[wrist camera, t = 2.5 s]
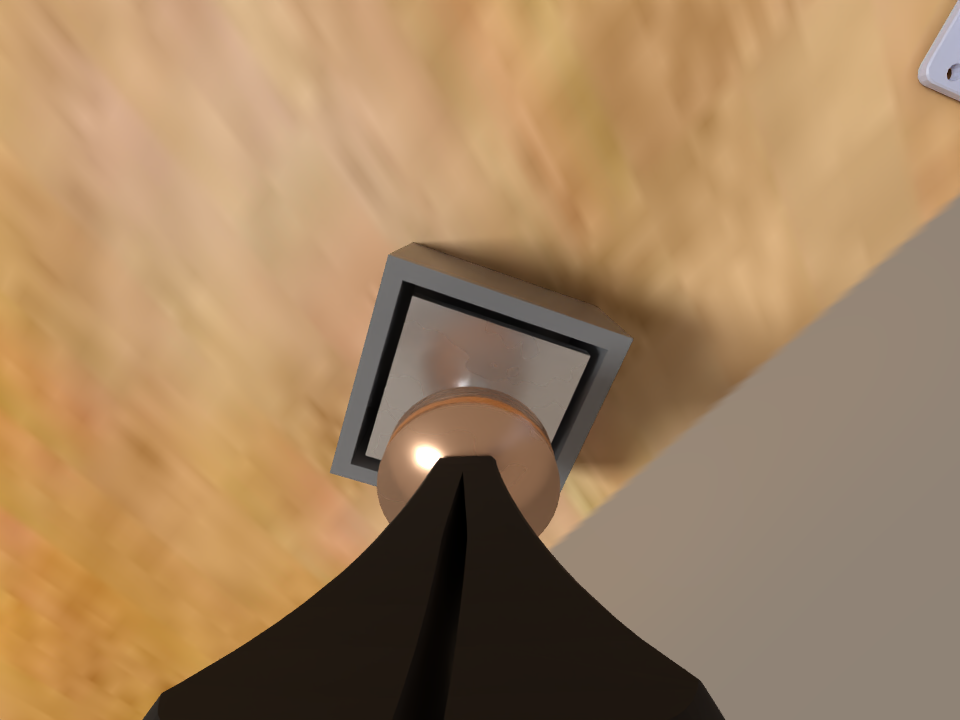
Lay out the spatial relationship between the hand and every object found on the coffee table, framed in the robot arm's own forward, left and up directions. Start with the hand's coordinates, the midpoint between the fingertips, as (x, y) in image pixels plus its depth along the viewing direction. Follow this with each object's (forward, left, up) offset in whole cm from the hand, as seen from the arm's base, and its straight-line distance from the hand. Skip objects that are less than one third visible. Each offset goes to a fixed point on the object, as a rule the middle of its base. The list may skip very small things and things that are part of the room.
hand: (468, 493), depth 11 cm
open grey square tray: (0, 0, -10) cm, 10 cm away
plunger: (0, 0, -5) cm, 5 cm away
